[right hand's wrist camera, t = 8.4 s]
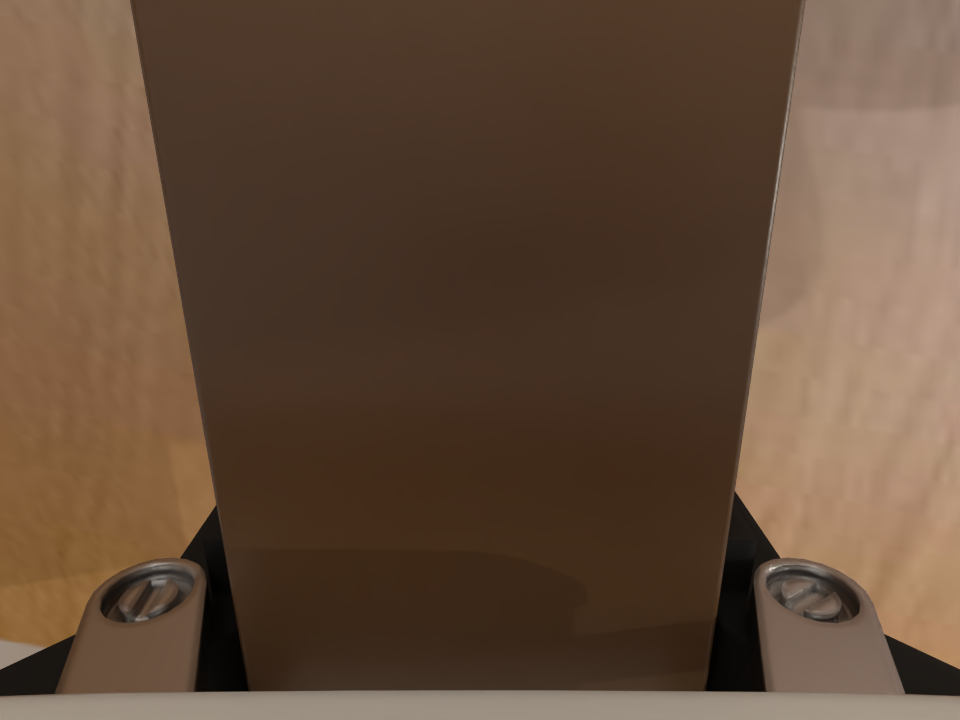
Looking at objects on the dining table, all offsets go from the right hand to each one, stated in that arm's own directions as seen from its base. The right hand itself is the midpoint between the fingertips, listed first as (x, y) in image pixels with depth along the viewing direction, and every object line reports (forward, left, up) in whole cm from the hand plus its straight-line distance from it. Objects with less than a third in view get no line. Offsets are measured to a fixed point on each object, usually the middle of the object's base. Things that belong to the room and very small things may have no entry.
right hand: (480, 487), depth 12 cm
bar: (+29, -13, -2) cm, 32 cm away
